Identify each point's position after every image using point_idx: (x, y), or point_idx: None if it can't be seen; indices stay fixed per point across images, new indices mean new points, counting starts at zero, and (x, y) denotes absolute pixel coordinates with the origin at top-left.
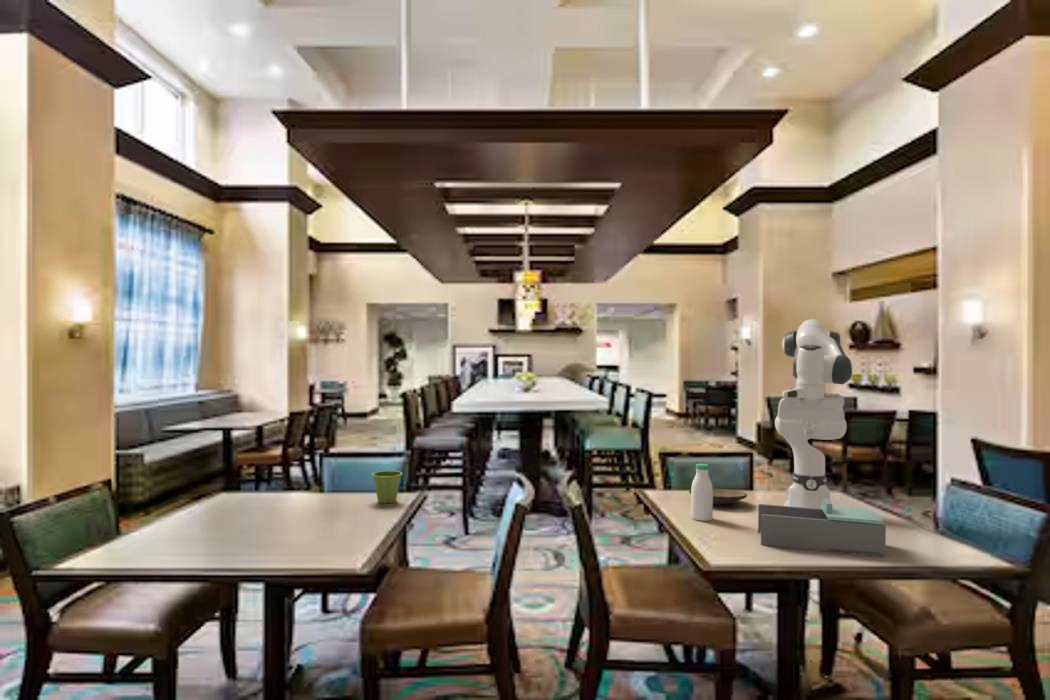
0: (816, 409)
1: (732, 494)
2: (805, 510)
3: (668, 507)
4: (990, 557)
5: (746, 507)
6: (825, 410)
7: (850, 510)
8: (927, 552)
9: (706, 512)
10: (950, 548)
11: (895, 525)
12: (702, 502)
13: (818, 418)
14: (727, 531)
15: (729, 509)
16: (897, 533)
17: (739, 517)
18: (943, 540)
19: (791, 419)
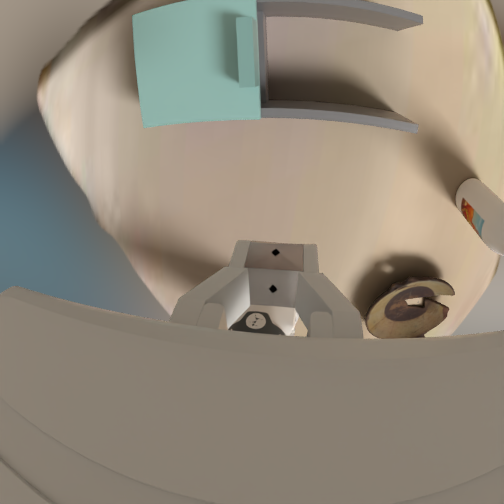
0: (132, 474)
1: (380, 326)
2: (302, 108)
3: (488, 255)
4: (47, 119)
5: (369, 288)
6: (37, 412)
7: (189, 82)
8: (102, 94)
9: (476, 185)
10: (78, 137)
11: (141, 241)
12: (492, 194)
13: (148, 339)
14: (448, 111)
15: (403, 269)
16: (135, 193)
17: (404, 220)
18: (86, 179)
19: (480, 333)
